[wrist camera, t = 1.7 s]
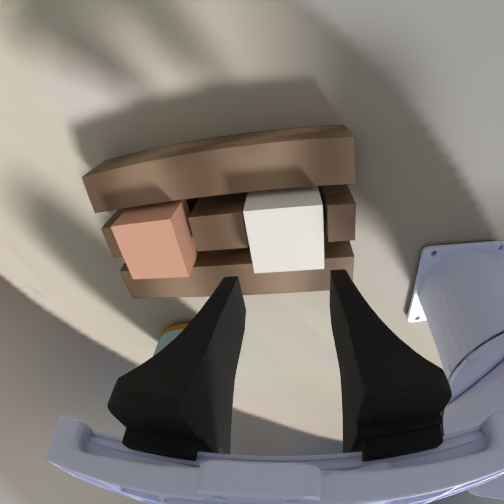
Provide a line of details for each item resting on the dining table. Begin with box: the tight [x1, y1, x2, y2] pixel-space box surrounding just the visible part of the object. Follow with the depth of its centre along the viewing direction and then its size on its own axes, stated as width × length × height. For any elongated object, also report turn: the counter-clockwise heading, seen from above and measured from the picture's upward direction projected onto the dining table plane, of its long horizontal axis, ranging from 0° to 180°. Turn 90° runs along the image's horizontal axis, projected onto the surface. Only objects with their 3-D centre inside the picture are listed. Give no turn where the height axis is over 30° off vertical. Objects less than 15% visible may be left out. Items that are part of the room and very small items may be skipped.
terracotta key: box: [111, 199, 199, 279], centre depth 19 cm, size 4×4×3 cm
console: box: [82, 125, 356, 298], centre depth 20 cm, size 16×10×3 cm, turn 99°
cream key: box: [243, 186, 324, 273], centre depth 18 cm, size 4×4×3 cm
